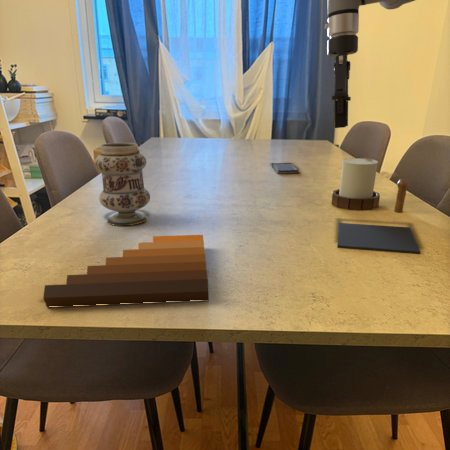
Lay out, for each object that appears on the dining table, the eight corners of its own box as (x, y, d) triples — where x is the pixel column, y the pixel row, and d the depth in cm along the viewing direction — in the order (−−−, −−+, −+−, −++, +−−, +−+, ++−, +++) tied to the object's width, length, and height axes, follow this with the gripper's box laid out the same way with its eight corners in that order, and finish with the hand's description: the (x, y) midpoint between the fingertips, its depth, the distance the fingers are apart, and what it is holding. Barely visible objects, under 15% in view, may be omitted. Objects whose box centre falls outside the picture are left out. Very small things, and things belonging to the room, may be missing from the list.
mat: (409, 229, 100) (410, 227, 99) (419, 254, 86) (420, 251, 86) (338, 224, 103) (338, 222, 103) (337, 247, 89) (337, 245, 89)
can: (378, 205, 118) (386, 159, 113) (356, 210, 114) (362, 163, 108) (352, 198, 125) (358, 155, 120) (330, 203, 120) (335, 158, 115)
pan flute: (46, 310, 66) (208, 303, 68) (41, 290, 65) (208, 283, 66) (81, 251, 88) (203, 247, 90) (78, 235, 87) (202, 231, 88)
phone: (290, 162, 170) (299, 170, 157) (290, 165, 170) (298, 173, 157) (270, 163, 169) (277, 170, 156) (270, 166, 170) (277, 173, 157)
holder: (399, 201, 122) (404, 170, 118) (404, 213, 111) (410, 180, 107) (332, 197, 126) (335, 168, 122) (330, 209, 115) (334, 177, 111)
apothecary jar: (151, 212, 113) (145, 140, 105) (152, 226, 103) (145, 147, 95) (104, 214, 112) (94, 141, 103) (100, 229, 101) (89, 148, 93)
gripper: (330, 46, 121) (330, 127, 129) (322, 30, 99) (323, 129, 107) (358, 42, 119) (357, 124, 126) (357, 25, 97) (354, 126, 104)
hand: (341, 127), depth 116 cm, fingers open, 13 cm apart
